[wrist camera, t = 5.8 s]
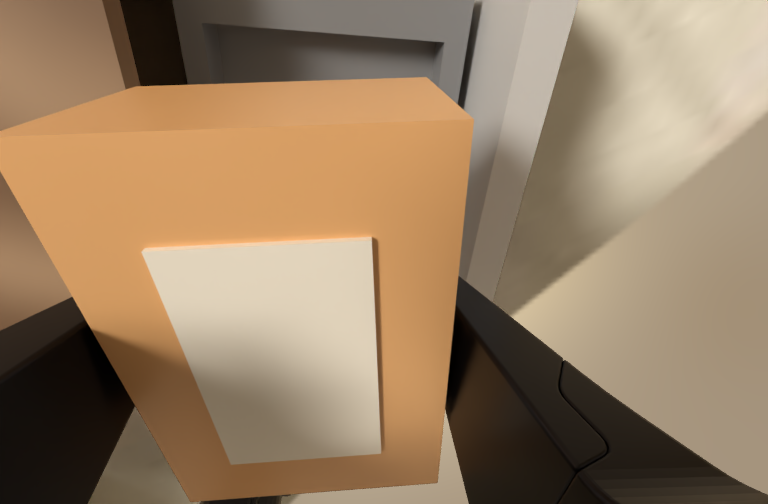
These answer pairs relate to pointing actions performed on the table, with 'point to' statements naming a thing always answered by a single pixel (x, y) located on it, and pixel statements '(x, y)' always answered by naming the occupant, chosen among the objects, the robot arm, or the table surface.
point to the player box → (45, 97)
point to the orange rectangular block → (263, 269)
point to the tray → (408, 60)
